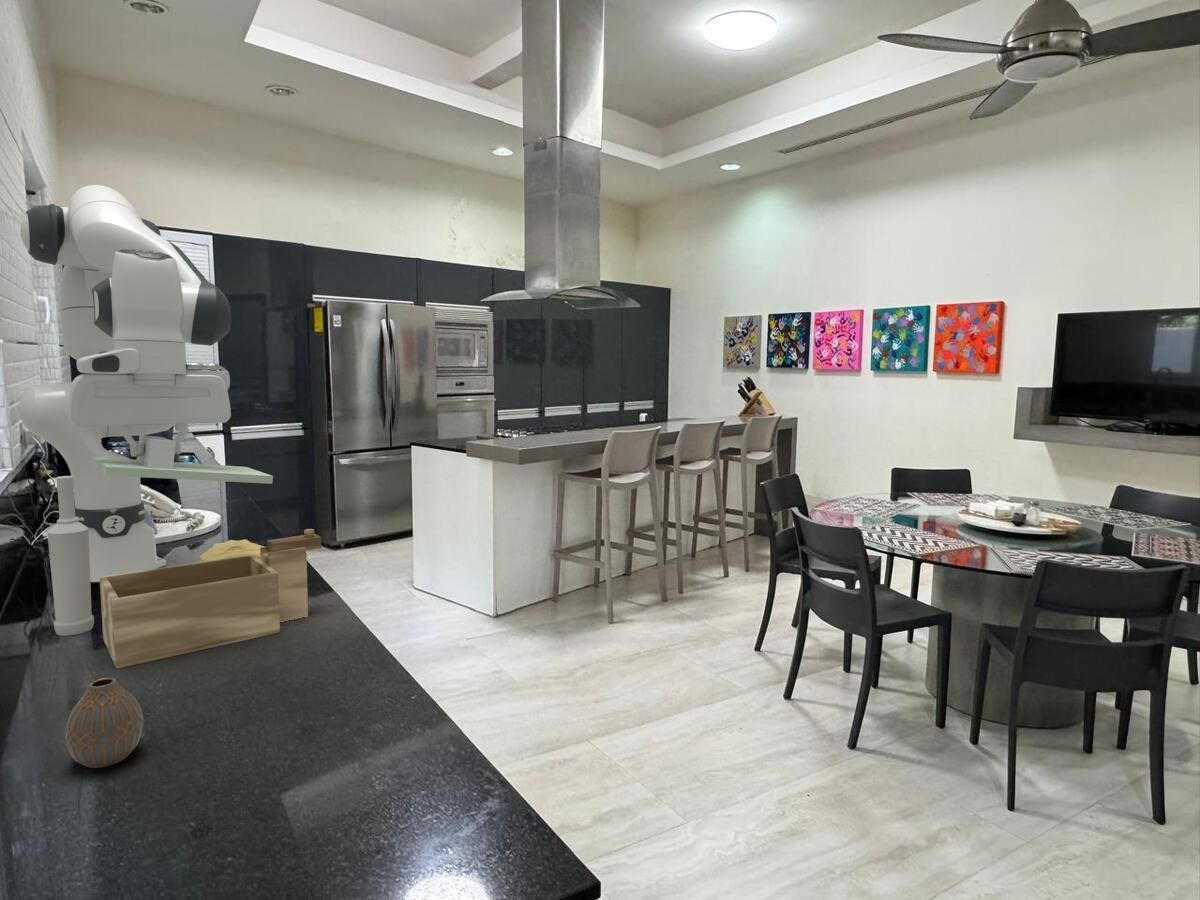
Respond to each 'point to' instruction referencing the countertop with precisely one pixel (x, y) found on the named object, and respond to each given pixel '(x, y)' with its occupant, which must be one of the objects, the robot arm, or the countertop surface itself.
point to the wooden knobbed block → (295, 542)
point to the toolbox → (201, 604)
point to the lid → (174, 466)
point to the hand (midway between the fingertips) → (156, 455)
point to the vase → (104, 725)
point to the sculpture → (231, 550)
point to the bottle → (70, 566)
